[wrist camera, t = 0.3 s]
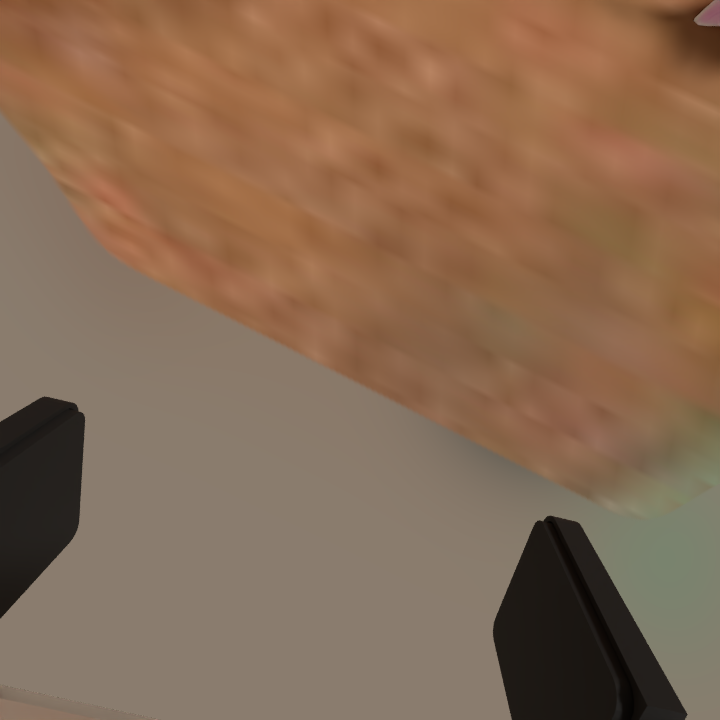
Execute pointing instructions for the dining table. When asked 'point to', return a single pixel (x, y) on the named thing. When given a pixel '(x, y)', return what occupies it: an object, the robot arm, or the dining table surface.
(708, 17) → the lily
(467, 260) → the dining table surface
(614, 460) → the dining table surface
